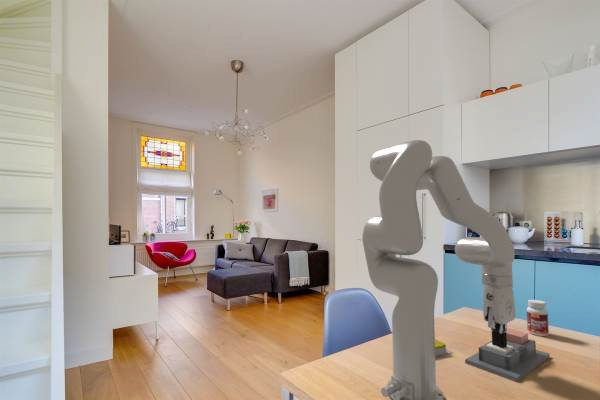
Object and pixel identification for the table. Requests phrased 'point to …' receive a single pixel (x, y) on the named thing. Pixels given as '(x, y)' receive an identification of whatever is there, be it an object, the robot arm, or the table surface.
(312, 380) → the table surface
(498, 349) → the cream key
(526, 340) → the terracotta key
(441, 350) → the emergency button
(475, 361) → the key panel
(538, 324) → the pill bottle
